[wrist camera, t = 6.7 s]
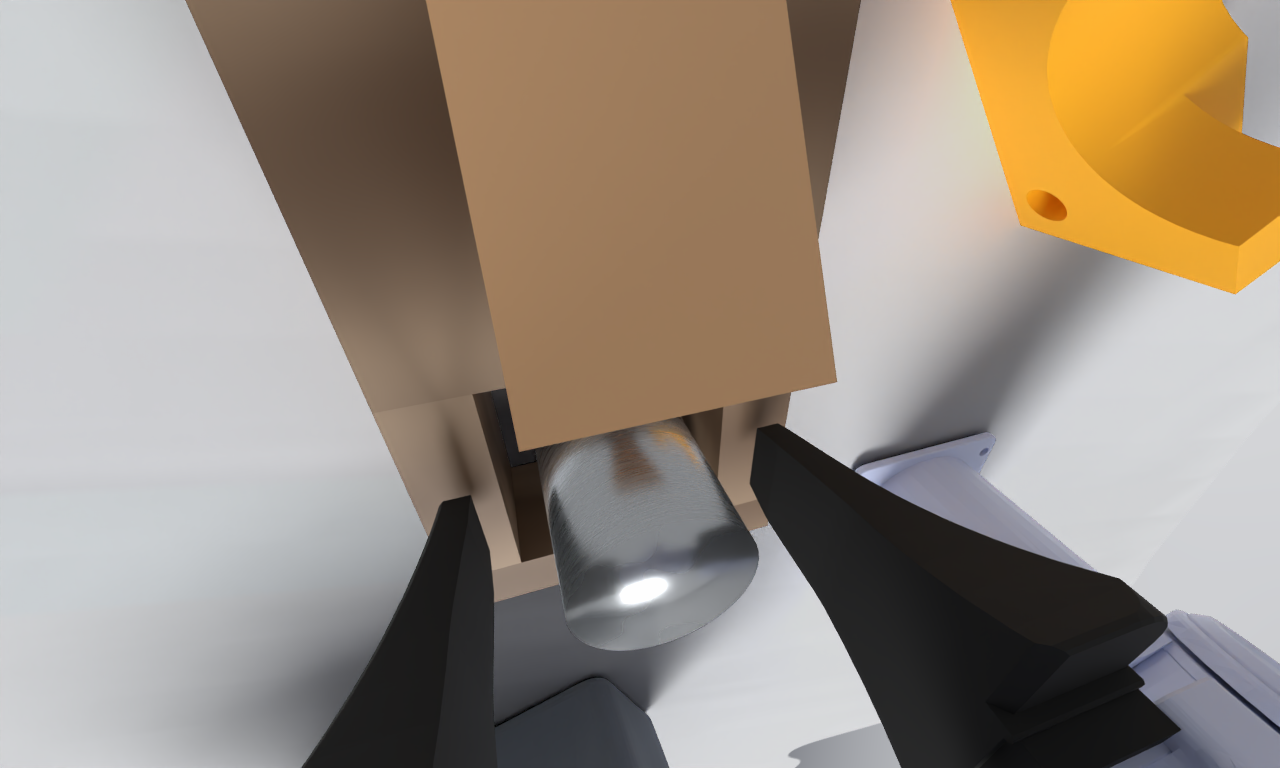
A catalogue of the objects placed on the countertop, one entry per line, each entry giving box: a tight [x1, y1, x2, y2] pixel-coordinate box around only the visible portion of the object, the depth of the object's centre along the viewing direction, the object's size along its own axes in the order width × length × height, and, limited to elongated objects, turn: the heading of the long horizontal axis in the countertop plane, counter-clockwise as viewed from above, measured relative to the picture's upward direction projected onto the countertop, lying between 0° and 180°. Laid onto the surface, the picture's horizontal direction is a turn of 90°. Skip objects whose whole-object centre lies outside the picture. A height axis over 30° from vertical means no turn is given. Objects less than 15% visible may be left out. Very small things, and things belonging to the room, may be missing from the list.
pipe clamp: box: [951, 0, 1280, 294], centre depth 11 cm, size 12×4×6 cm, turn 43°
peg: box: [535, 416, 759, 651], centre depth 13 cm, size 4×4×8 cm
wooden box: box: [185, 0, 861, 603], centre depth 11 cm, size 17×10×6 cm, turn 2°
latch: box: [426, 0, 837, 452], centre depth 6 cm, size 8×4×1 cm
